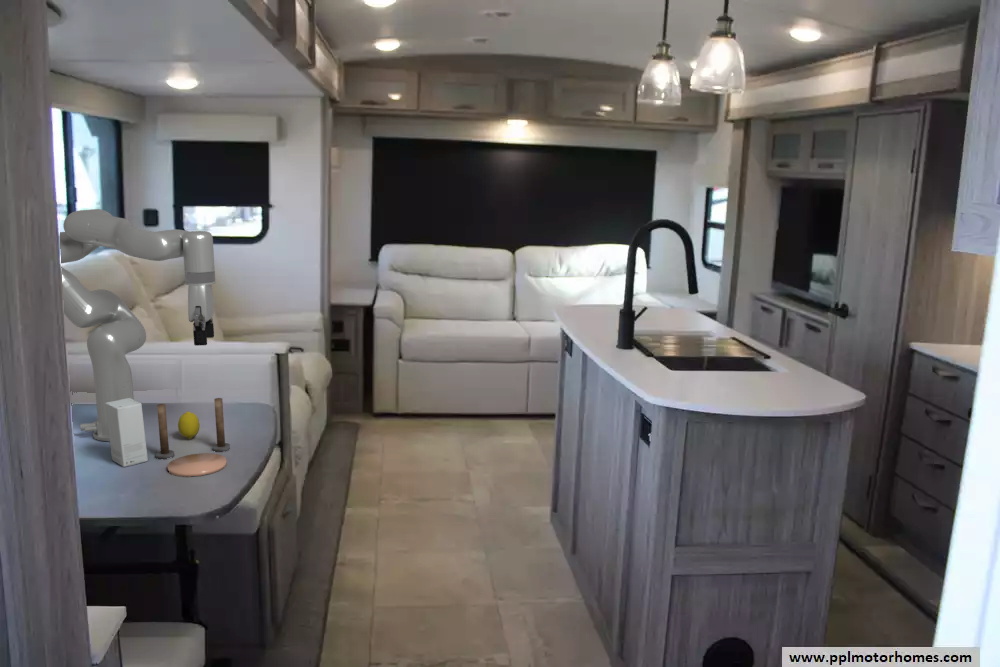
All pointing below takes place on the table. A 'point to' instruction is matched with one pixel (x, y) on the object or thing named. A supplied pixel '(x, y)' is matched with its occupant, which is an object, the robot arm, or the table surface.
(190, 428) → the lemon
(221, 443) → the right dowel
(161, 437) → the left dowel
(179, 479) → the table surface
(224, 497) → the table surface
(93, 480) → the table surface
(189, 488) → the table surface
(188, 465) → the plate
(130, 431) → the skincare box
